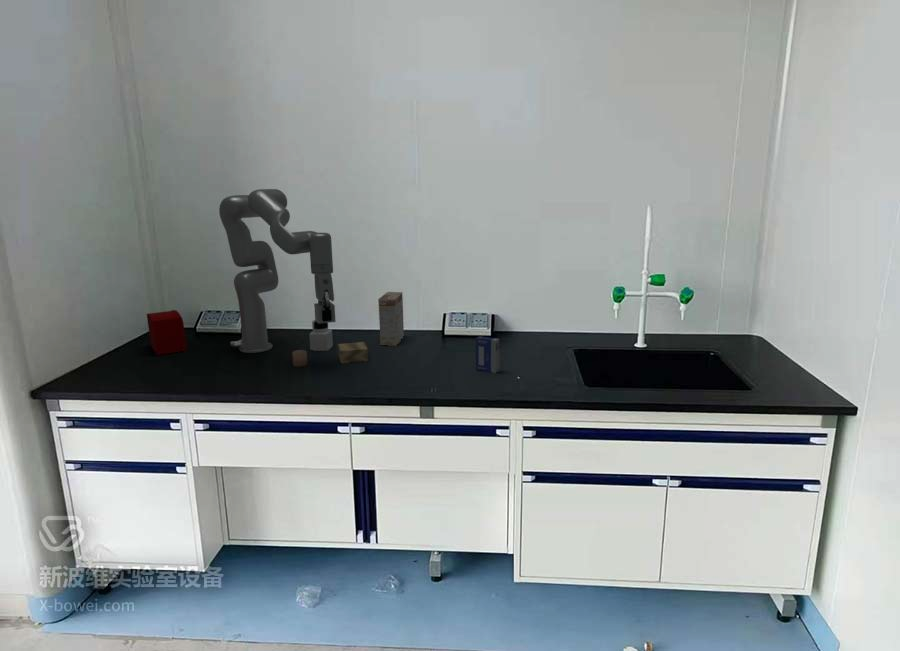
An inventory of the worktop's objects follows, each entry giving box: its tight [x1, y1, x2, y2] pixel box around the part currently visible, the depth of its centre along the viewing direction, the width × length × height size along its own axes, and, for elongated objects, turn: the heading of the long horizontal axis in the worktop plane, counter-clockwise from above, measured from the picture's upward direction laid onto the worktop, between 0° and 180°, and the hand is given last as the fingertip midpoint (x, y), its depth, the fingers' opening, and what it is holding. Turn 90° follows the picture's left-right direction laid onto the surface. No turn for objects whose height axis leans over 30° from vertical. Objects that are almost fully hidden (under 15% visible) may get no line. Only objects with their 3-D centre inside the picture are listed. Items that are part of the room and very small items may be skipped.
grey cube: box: [313, 301, 336, 324], centre depth 203 cm, size 6×6×6 cm
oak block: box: [337, 341, 369, 364], centre depth 215 cm, size 10×10×5 cm
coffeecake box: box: [377, 291, 405, 347], centre depth 236 cm, size 15×7×20 cm, turn 172°
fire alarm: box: [146, 309, 187, 356], centre depth 229 cm, size 16×11×15 cm
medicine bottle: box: [308, 319, 334, 352], centre depth 228 cm, size 7×7×12 cm
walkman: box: [475, 335, 500, 374], centre depth 199 cm, size 8×3×12 cm, turn 60°
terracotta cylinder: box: [291, 349, 308, 368], centre depth 208 cm, size 5×5×5 cm
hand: (325, 318), depth 204 cm, fingers closed on grey cube, 6 cm apart
